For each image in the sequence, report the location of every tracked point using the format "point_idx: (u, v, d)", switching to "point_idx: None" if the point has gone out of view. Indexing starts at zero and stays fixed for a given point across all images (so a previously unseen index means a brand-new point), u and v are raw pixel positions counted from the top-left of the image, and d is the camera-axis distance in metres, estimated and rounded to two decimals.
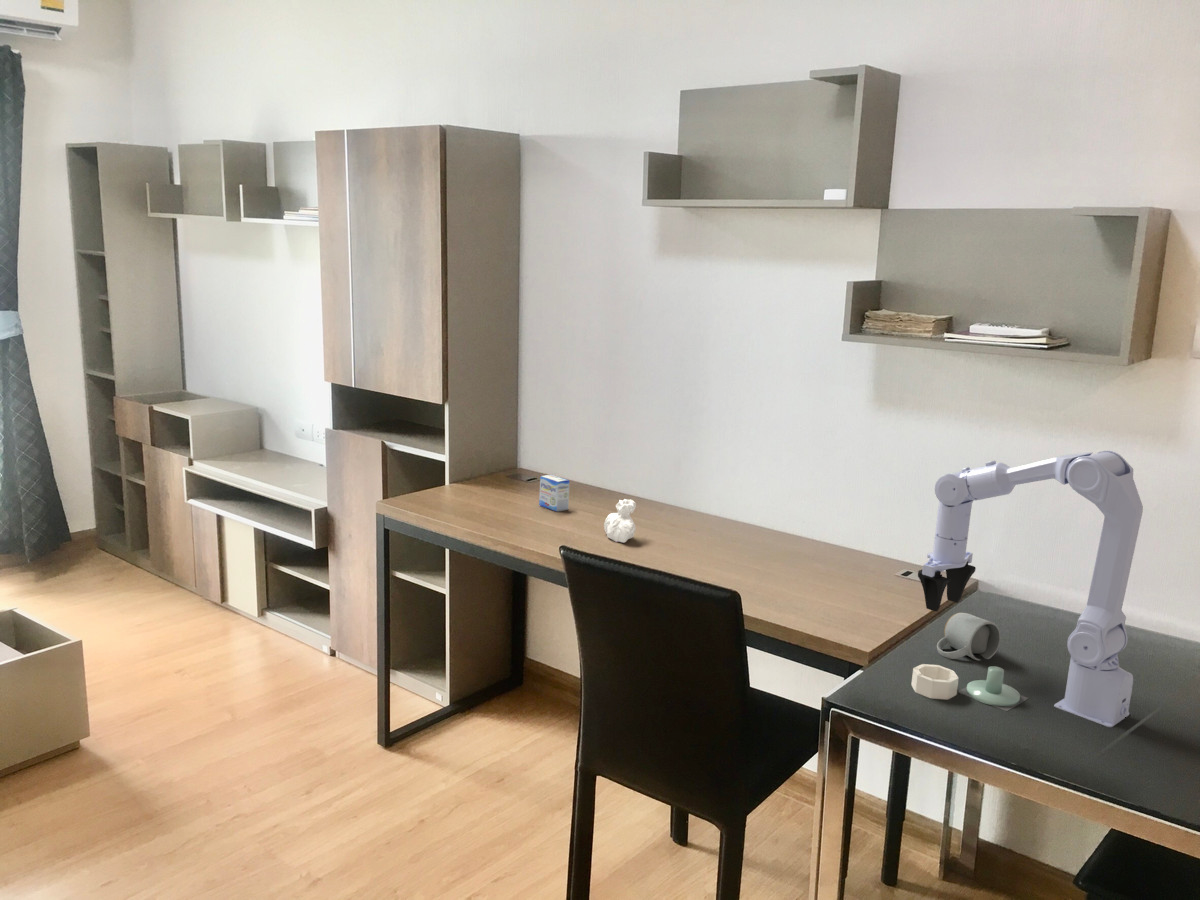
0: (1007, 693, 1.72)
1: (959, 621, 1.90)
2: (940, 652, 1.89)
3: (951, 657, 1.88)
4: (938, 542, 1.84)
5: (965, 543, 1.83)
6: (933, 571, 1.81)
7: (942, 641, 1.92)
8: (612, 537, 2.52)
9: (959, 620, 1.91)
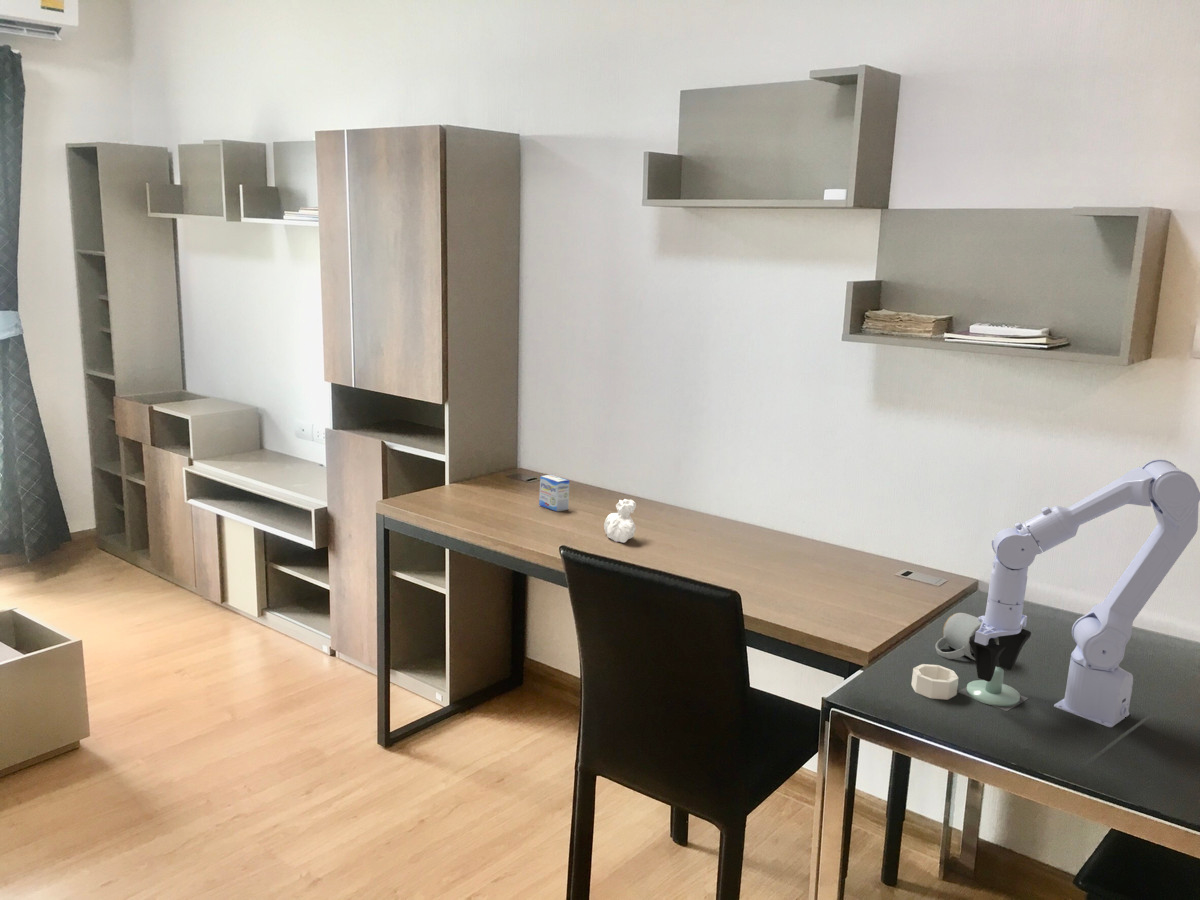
0: (1007, 693, 1.72)
1: (958, 621, 1.90)
2: (939, 652, 1.89)
3: (950, 657, 1.88)
4: (992, 606, 1.68)
5: (1021, 608, 1.68)
6: (987, 639, 1.65)
7: (941, 641, 1.92)
8: (612, 537, 2.52)
9: (958, 620, 1.91)
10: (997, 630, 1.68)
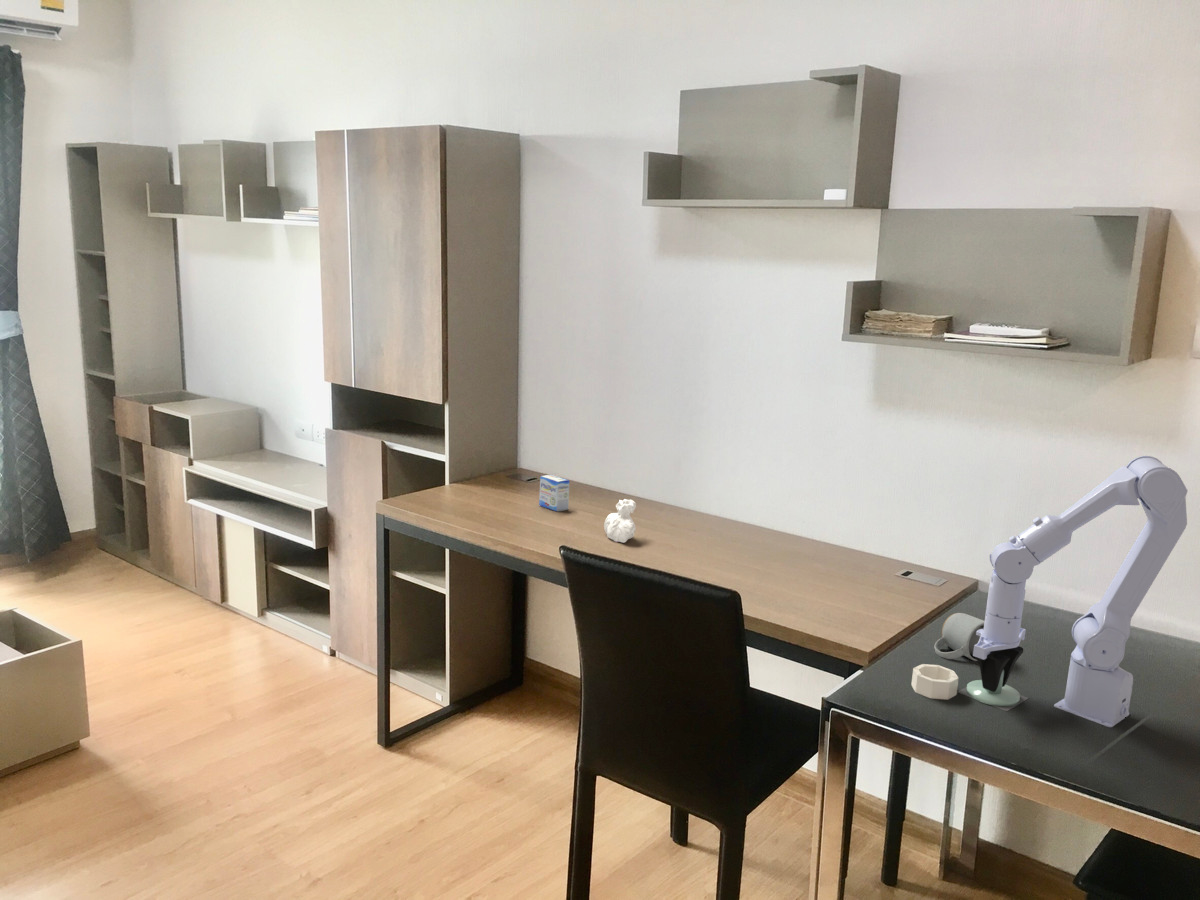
0: (1007, 693, 1.72)
1: (956, 621, 1.90)
2: (937, 652, 1.89)
3: (948, 657, 1.87)
4: (990, 620, 1.69)
5: (1019, 621, 1.68)
6: (985, 653, 1.66)
7: (939, 641, 1.92)
8: (612, 537, 2.52)
9: (956, 620, 1.90)
10: (995, 644, 1.68)
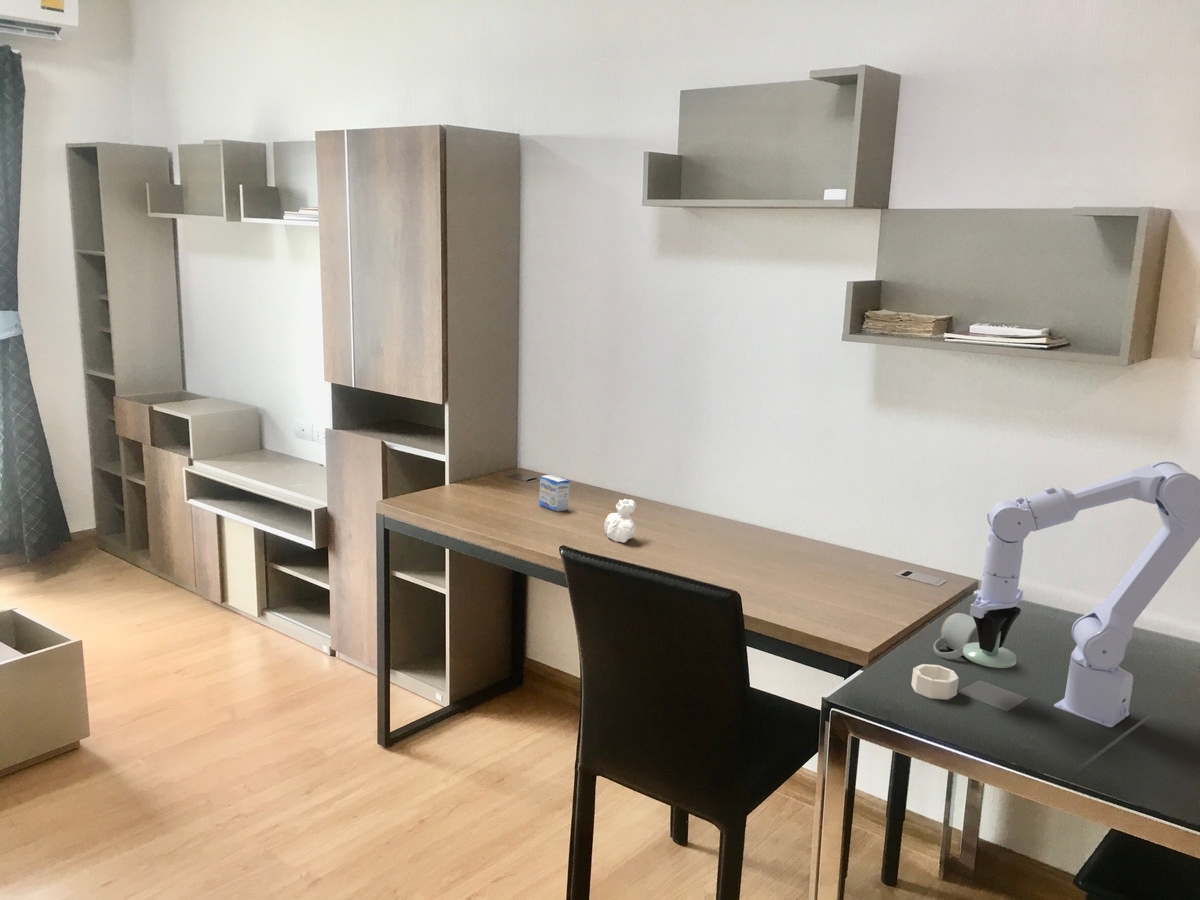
0: (1003, 655, 1.71)
1: (956, 621, 1.90)
2: (937, 652, 1.89)
3: (948, 658, 1.87)
4: (987, 579, 1.68)
5: (1017, 581, 1.67)
6: (982, 612, 1.64)
7: (939, 641, 1.92)
8: (612, 537, 2.52)
9: (956, 620, 1.90)
10: (993, 603, 1.67)
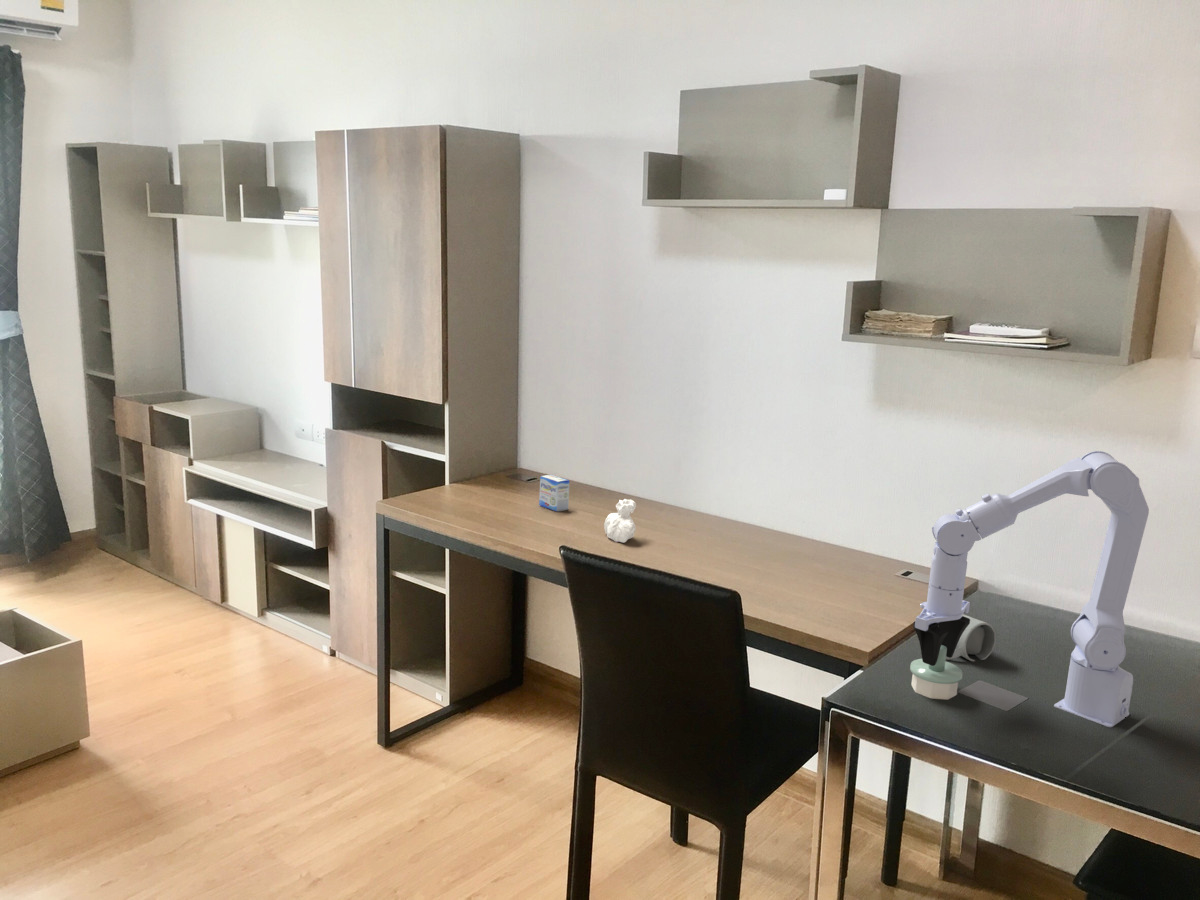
0: (949, 670, 1.73)
1: None
2: None
3: (946, 658, 1.87)
4: (932, 592, 1.69)
5: (961, 593, 1.68)
6: (927, 625, 1.66)
7: None
8: (612, 537, 2.52)
9: None
10: (937, 616, 1.69)
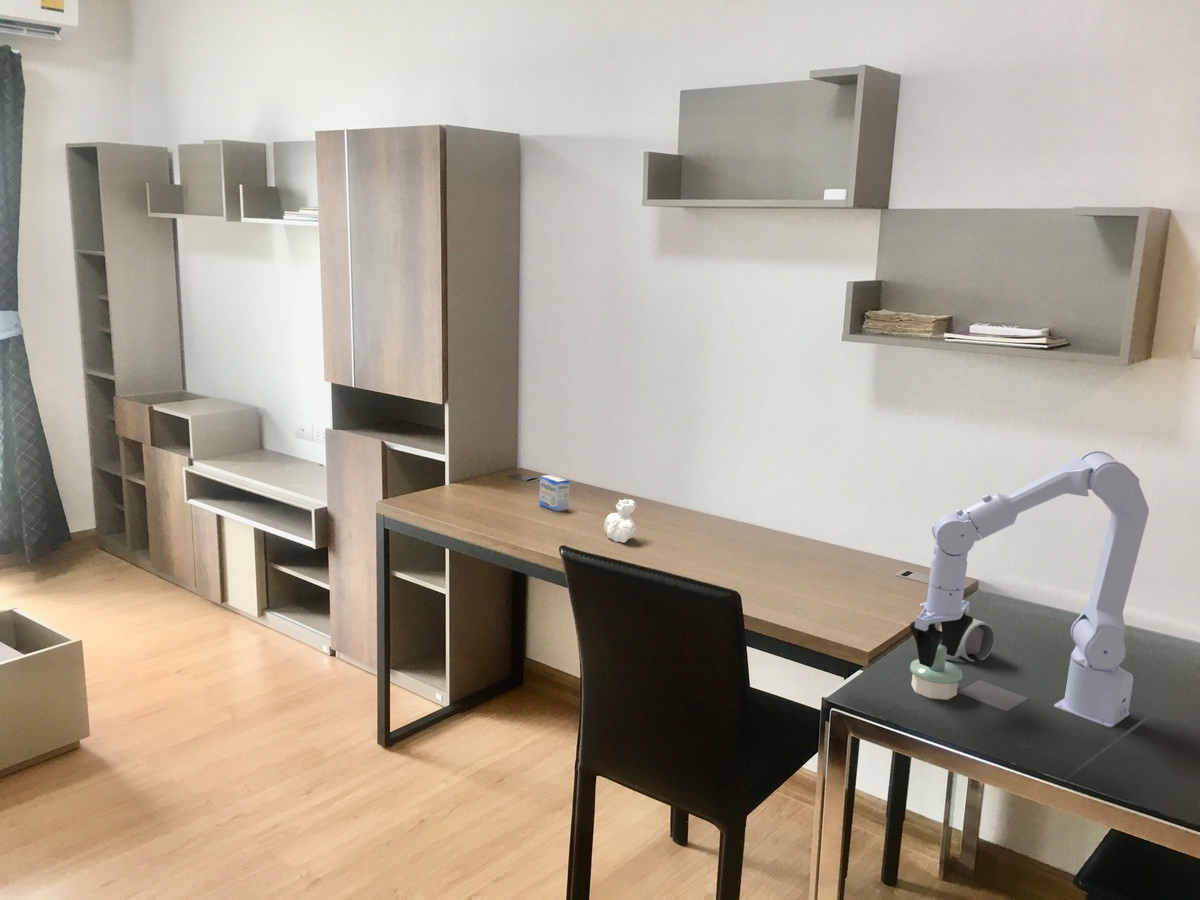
0: (949, 670, 1.73)
1: None
2: None
3: None
4: (932, 592, 1.69)
5: (961, 593, 1.68)
6: (927, 625, 1.66)
7: None
8: (612, 537, 2.52)
9: None
10: (937, 616, 1.69)
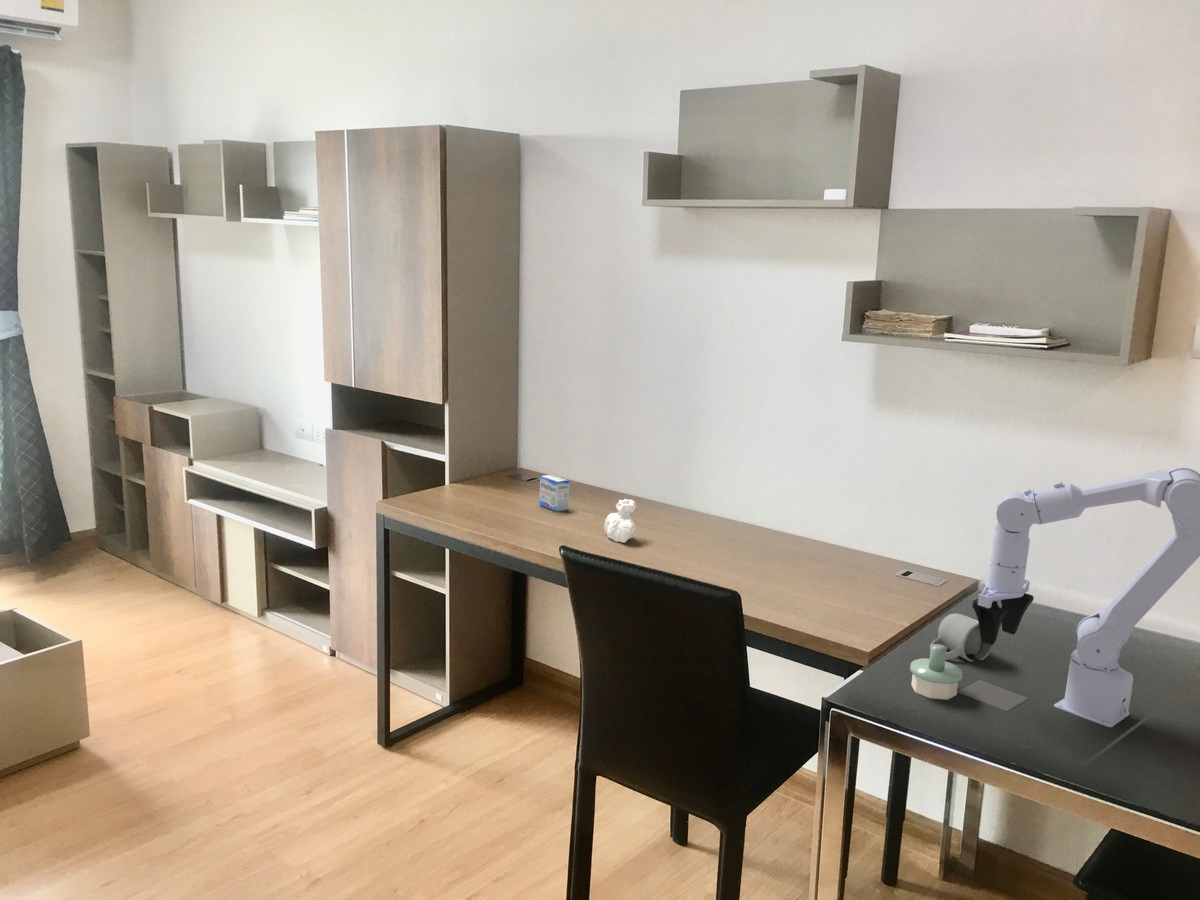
0: (949, 670, 1.73)
1: (952, 622, 1.90)
2: None
3: None
4: (995, 570, 1.70)
5: (1024, 571, 1.69)
6: (990, 602, 1.67)
7: (935, 642, 1.91)
8: (612, 537, 2.52)
9: (952, 620, 1.90)
10: (1000, 593, 1.69)
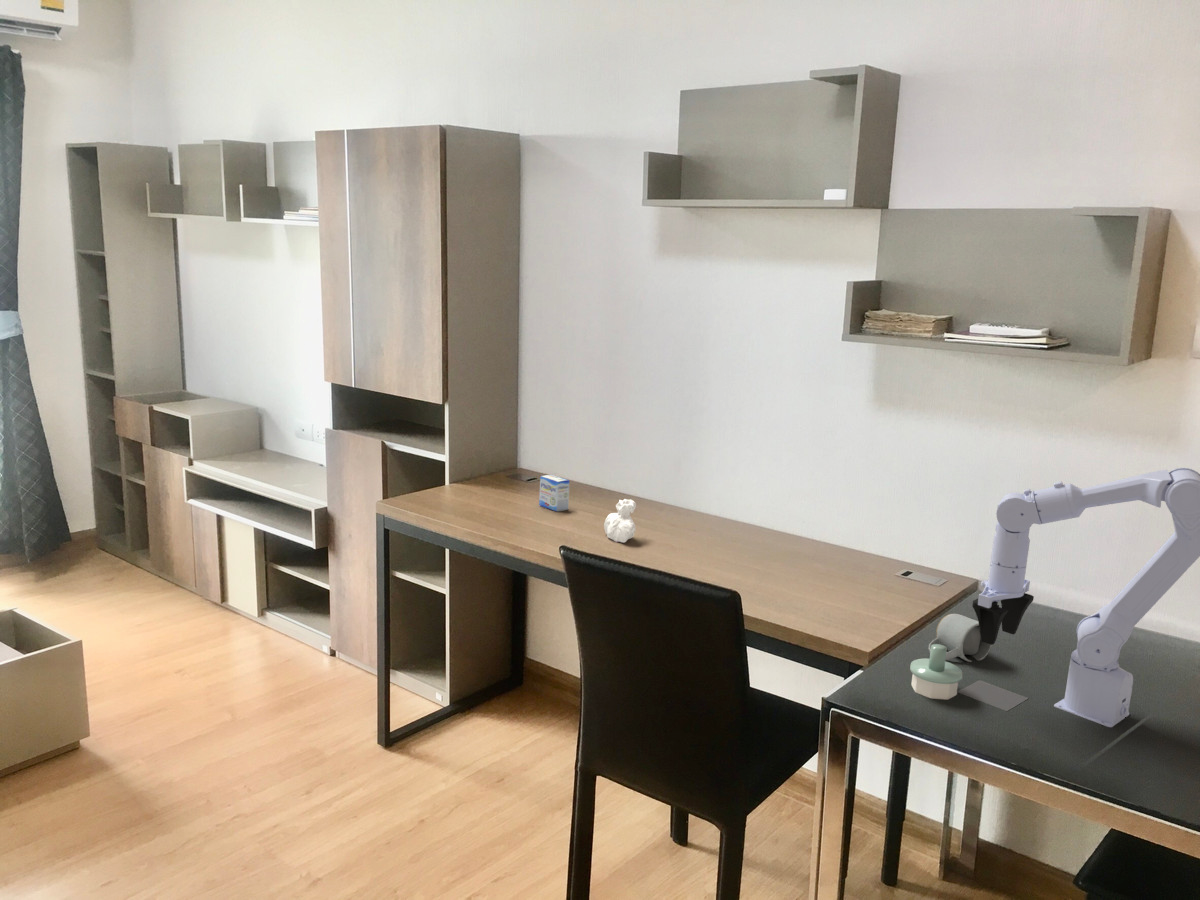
0: (949, 670, 1.73)
1: (951, 622, 1.90)
2: None
3: None
4: (995, 570, 1.70)
5: (1024, 571, 1.69)
6: (990, 602, 1.67)
7: (934, 642, 1.91)
8: (612, 537, 2.52)
9: (951, 621, 1.90)
10: (1000, 593, 1.69)
